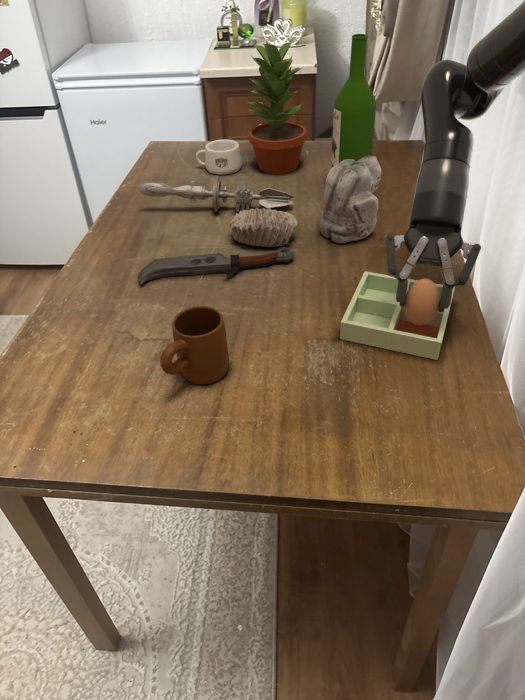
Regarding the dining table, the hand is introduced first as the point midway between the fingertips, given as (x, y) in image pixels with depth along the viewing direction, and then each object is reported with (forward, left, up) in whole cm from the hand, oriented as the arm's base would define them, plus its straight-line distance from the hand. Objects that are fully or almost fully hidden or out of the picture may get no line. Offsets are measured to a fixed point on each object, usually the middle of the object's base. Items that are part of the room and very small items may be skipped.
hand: (421, 308), depth 80 cm
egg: (0, -2, -4) cm, 5 cm away
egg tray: (+4, -5, -7) cm, 10 cm away
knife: (+39, -10, -7) cm, 41 cm away
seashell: (+35, -24, -7) cm, 43 cm away
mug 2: (+60, -55, -7) cm, 82 cm away
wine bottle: (+24, -51, -7) cm, 57 cm away
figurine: (+19, -32, -7) cm, 38 cm away
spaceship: (+50, -33, -7) cm, 61 cm away
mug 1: (+29, +18, -7) cm, 35 cm away
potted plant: (+46, -61, -7) cm, 77 cm away
